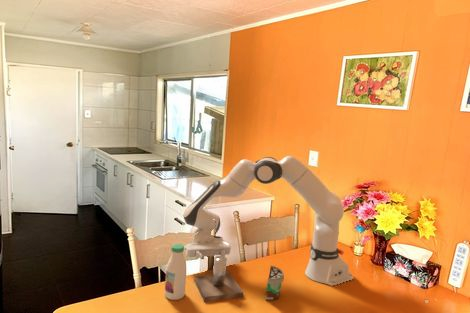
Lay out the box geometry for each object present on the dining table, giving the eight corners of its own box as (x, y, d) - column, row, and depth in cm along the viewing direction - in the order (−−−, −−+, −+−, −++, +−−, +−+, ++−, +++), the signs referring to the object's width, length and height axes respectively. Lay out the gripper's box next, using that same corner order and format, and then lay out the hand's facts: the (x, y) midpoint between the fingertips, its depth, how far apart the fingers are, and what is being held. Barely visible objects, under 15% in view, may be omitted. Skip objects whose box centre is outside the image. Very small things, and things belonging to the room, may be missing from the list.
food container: (281, 305, 129) (283, 281, 127) (265, 302, 130) (267, 278, 129) (282, 289, 141) (285, 267, 139) (268, 287, 142) (270, 264, 141)
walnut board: (229, 277, 147) (229, 272, 147) (243, 296, 133) (243, 292, 132) (194, 280, 142) (194, 276, 141) (204, 301, 127) (204, 297, 127)
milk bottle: (182, 288, 135) (186, 241, 132) (186, 299, 127) (189, 249, 125) (163, 290, 132) (166, 242, 129) (165, 301, 125) (169, 250, 122)
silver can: (222, 280, 140) (224, 255, 139) (225, 286, 135) (228, 261, 134) (210, 281, 138) (212, 256, 137) (214, 287, 134) (216, 261, 132)
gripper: (183, 238, 152) (190, 251, 140) (225, 236, 160) (235, 248, 147) (182, 251, 153) (188, 265, 140) (224, 249, 161) (234, 262, 148)
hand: (213, 256), depth 144 cm, fingers open, 8 cm apart
